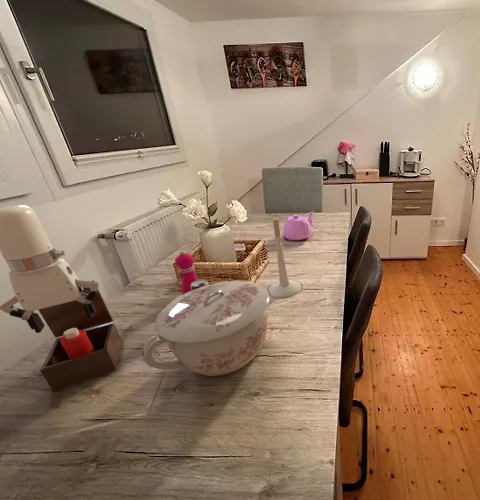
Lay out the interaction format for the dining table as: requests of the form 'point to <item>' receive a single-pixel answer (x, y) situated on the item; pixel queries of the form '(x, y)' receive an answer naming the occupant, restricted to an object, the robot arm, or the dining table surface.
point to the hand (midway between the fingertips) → (67, 322)
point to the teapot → (298, 227)
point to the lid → (75, 315)
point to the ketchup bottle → (76, 343)
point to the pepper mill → (186, 270)
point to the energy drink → (198, 284)
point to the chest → (83, 359)
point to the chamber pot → (212, 328)
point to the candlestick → (282, 270)
